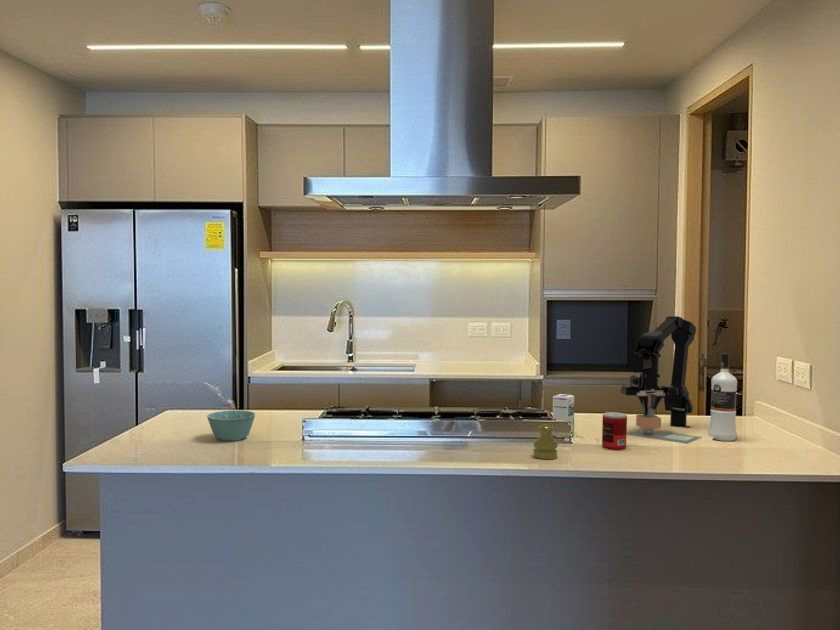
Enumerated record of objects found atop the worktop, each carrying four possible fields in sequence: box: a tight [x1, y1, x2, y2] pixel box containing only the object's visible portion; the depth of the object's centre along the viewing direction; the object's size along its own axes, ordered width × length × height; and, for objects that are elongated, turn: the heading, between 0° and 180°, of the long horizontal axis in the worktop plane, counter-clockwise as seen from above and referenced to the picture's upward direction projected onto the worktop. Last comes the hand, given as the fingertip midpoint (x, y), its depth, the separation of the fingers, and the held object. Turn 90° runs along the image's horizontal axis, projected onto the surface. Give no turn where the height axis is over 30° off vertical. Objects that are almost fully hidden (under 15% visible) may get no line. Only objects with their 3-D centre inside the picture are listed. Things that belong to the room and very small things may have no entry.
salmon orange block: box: [635, 406, 662, 430], centre depth 262 cm, size 6×6×7 cm
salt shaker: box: [532, 424, 559, 460], centre depth 229 cm, size 7×7×10 cm
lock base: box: [627, 428, 703, 445], centre depth 258 cm, size 14×22×4 cm, turn 50°
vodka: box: [707, 352, 738, 442], centre depth 258 cm, size 9×9×30 cm
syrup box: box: [552, 393, 575, 437], centre depth 260 cm, size 6×6×14 cm
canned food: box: [601, 411, 628, 451], centre depth 243 cm, size 8×8×11 cm
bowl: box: [206, 409, 256, 442], centre depth 249 cm, size 16×16×8 cm
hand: (648, 414), depth 262 cm, fingers closed on salmon orange block
